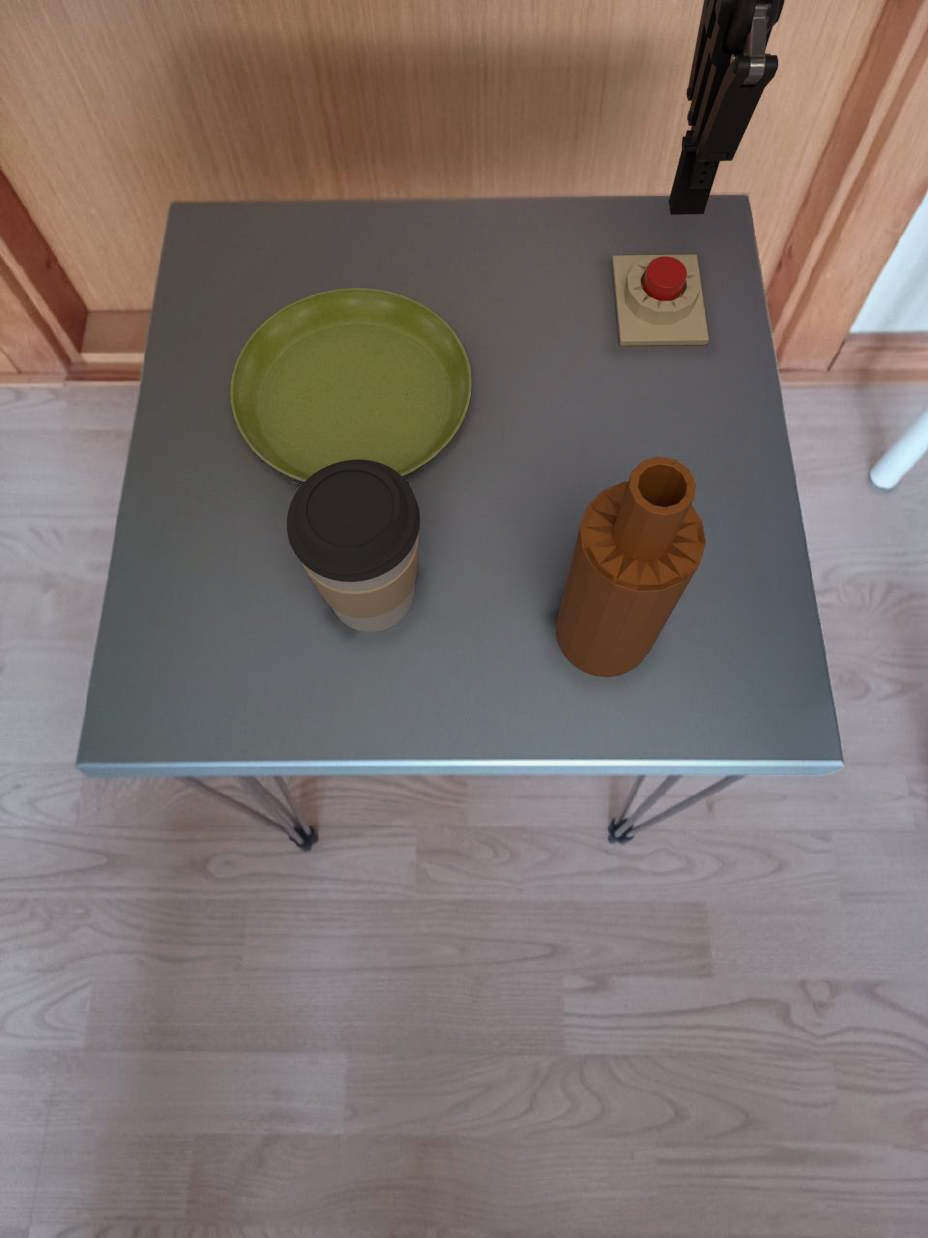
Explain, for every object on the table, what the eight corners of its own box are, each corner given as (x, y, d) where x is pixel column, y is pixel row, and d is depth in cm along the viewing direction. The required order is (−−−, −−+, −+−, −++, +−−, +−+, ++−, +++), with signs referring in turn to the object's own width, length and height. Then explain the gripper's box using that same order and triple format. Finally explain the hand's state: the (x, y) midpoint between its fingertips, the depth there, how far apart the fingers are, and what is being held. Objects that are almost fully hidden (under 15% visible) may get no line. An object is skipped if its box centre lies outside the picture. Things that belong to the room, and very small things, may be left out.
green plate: (464, 512, 73) (463, 493, 70) (221, 500, 74) (211, 480, 71) (477, 315, 81) (478, 290, 78) (257, 305, 81) (249, 280, 78)
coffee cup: (294, 589, 71) (251, 499, 57) (379, 522, 73) (357, 419, 59) (366, 667, 68) (338, 593, 54) (451, 596, 70) (446, 506, 56)
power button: (684, 300, 79) (689, 287, 77) (644, 301, 79) (648, 287, 77) (680, 269, 80) (685, 255, 78) (641, 270, 80) (645, 256, 78)
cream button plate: (707, 344, 79) (714, 326, 77) (619, 346, 79) (623, 327, 77) (695, 259, 83) (701, 239, 81) (611, 260, 83) (615, 240, 81)
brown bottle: (671, 628, 69) (759, 480, 48) (610, 696, 67) (675, 574, 46) (597, 570, 71) (650, 403, 50) (536, 634, 69) (565, 489, 48)
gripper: (701, -199, 51) (633, 149, 73) (728, -57, 46) (647, 270, 68) (829, -201, 51) (722, 148, 73) (869, -60, 46) (742, 269, 68)
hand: (686, 207), depth 71 cm, fingers closed
